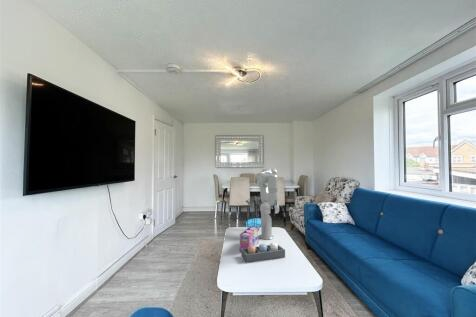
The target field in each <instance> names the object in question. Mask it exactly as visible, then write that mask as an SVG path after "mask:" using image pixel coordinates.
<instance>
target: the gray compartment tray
mask: <svg viewBox="0 0 476 317" xmlns="http://www.w3.org/2000/svg"><path fill="white" fill-rule="evenodd" d="M266 245H267V244H266ZM240 256H241V258H242V257H243V258H242V259H243V261H245V263H247V264H248V263H255V262H261V261H269V260H276V259H283V258H284V259H285V258H286V249H285V248H284V247H283V246H281V245H280V244H278V250H275V251H271V250H270V244H268V245H267V252H260V251H259V246H255V253H252V254H248V248H241V252H240Z"/></svg>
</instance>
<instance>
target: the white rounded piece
mask: <svg viewBox="0 0 476 317" xmlns="http://www.w3.org/2000/svg"><path fill="white" fill-rule="evenodd" d="M269 245H270V250H271V251H275V250H278V245H279V244H278V243H276V242H271V243H270V244H269Z"/></svg>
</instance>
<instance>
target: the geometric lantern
mask: <svg viewBox="0 0 476 317" xmlns="http://www.w3.org/2000/svg"><path fill="white" fill-rule="evenodd" d="M253 201H254V202H253ZM245 203H247V204H248V207H247V213H249V212H250V211H251V208H252V212H253V214H252V216H251V223H249V215H247V217H246V226H247V229H248V228H249V227H252V228H258V231H259V230H260V228H261V223H258V215H257V214H258V212H257V211H259V210H260V206H261V204H263V203H264V202H262V201H261V198H259V197H258V196H256V195H255V196H252V197H250V198H248V199H247V200H245ZM254 205H255V206H254ZM255 208H256V209H255ZM255 222H256V223H255ZM250 225H251V226H250ZM255 225H256V226H255ZM258 225H259V226H258Z"/></svg>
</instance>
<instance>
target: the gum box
mask: <svg viewBox="0 0 476 317" xmlns="http://www.w3.org/2000/svg"><path fill="white" fill-rule="evenodd" d="M248 227H249V226H248ZM248 227H247V228H246V229H245V230H244V231H242V232H241V233H239V252H240V251H241V248H248V246H250V245H253V246H255V247H257V245H258V244H259V230H258V228H256V227H255V228H252V226H251V227H249V228H248Z"/></svg>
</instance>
